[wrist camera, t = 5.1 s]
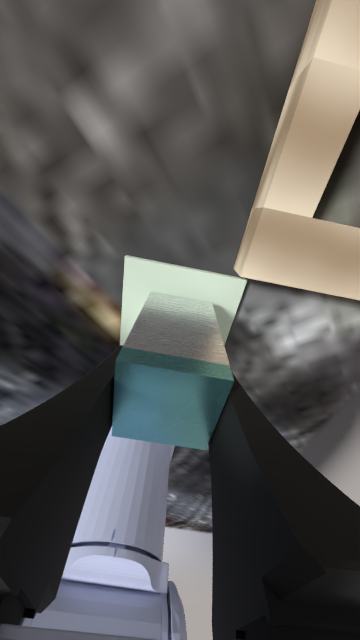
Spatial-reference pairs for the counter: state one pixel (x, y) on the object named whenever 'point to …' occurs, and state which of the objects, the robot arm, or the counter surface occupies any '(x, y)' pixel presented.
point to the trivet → (177, 290)
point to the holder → (310, 165)
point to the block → (171, 374)
